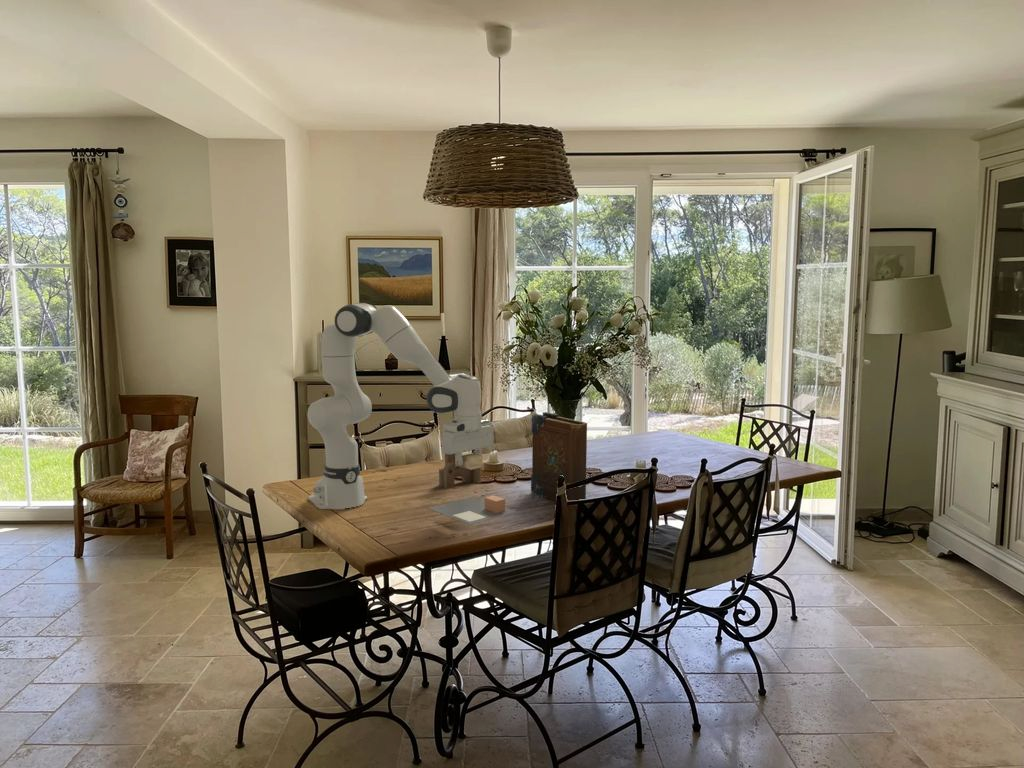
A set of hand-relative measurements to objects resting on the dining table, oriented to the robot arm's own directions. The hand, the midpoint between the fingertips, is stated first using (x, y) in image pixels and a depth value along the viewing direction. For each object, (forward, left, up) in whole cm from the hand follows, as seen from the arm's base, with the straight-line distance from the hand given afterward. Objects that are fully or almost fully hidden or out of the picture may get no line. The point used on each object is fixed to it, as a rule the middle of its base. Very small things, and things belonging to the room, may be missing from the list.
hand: (468, 463), depth 253 cm
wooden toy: (-30, +20, -18) cm, 40 cm away
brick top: (+7, +6, -16) cm, 18 cm away
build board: (+2, 0, -17) cm, 17 cm away
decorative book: (+9, +35, -18) cm, 40 cm away
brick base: (0, 0, -1) cm, 1 cm away
